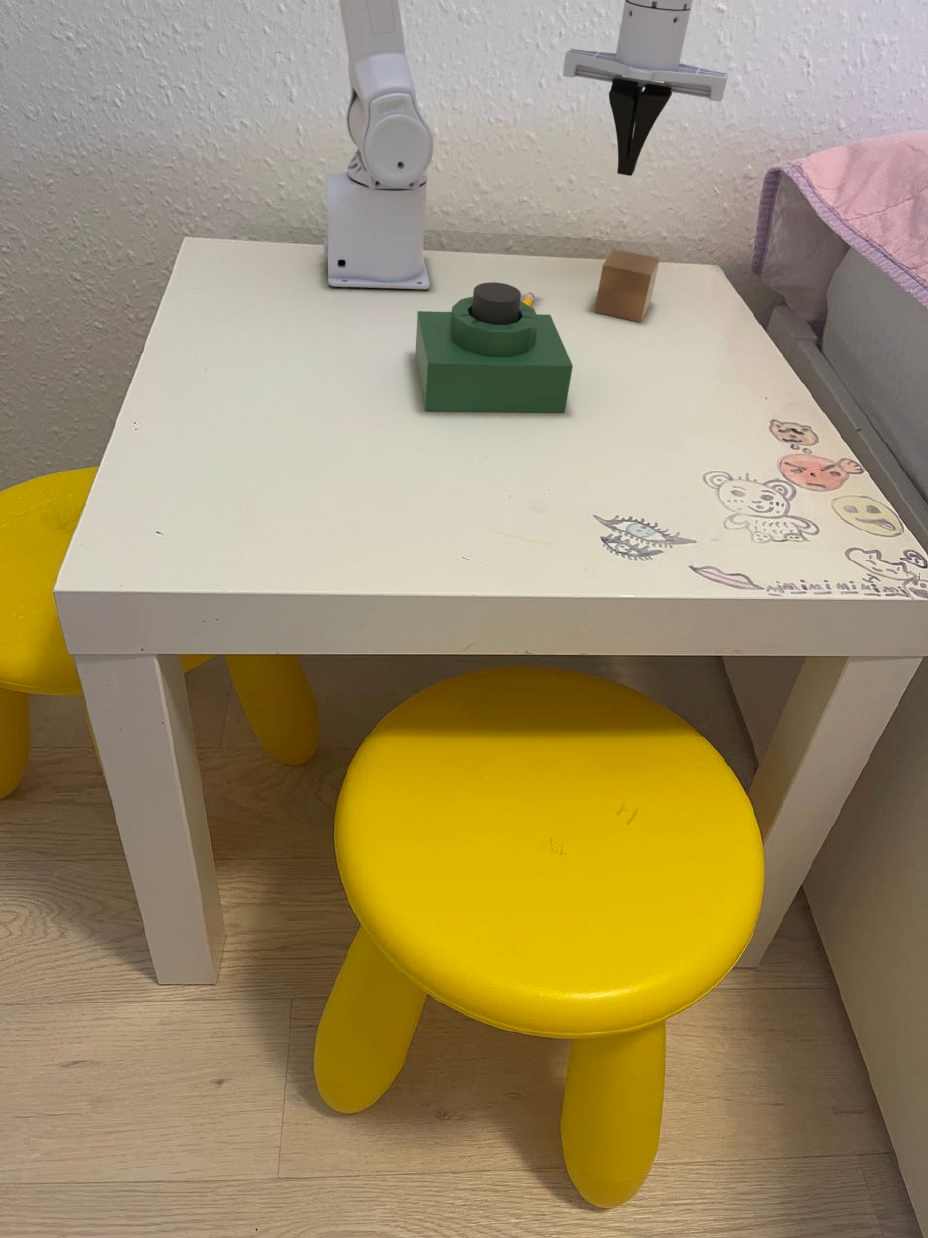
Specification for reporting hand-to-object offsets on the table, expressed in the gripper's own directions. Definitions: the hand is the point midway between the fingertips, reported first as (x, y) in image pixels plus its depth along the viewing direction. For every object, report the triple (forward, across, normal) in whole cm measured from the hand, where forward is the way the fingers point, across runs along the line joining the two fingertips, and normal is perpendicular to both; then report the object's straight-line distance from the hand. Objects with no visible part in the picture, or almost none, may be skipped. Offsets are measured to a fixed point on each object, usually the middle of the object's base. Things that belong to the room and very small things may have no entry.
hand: (625, 172), depth 88 cm
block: (+10, +3, -9) cm, 13 cm away
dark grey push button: (+4, -5, -29) cm, 30 cm away
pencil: (+10, -5, -15) cm, 19 cm away
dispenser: (+10, -5, -29) cm, 31 cm away
